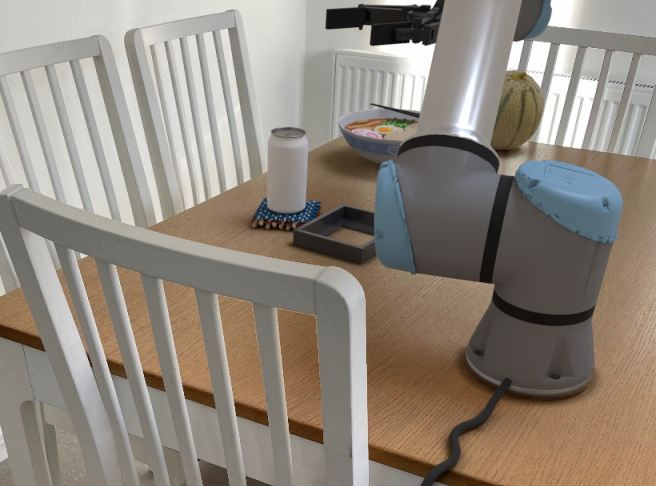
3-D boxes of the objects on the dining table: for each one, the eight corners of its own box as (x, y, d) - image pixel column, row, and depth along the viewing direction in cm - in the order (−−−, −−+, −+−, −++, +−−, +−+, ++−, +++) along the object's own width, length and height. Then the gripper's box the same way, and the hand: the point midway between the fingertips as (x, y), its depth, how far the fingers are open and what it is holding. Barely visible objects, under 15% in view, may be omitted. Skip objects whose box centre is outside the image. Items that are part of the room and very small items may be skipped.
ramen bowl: (307, 158, 165) (309, 115, 160) (383, 138, 177) (387, 96, 172) (402, 191, 151) (407, 144, 146) (477, 166, 163) (485, 122, 158)
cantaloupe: (486, 134, 181) (499, 57, 172) (547, 148, 174) (565, 69, 164) (450, 148, 173) (462, 68, 163) (513, 163, 165) (529, 81, 156)
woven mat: (261, 206, 144) (261, 194, 143) (321, 211, 143) (322, 199, 141) (249, 228, 136) (249, 215, 135) (312, 233, 135) (313, 221, 133)
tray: (361, 264, 125) (362, 248, 124) (292, 244, 131) (293, 229, 129) (407, 234, 135) (409, 220, 133) (342, 217, 140) (343, 203, 139)
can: (258, 207, 138) (259, 130, 130) (286, 198, 141) (289, 123, 134) (285, 217, 134) (287, 139, 127) (313, 208, 138) (317, 132, 130)
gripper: (508, 60, 126) (389, 72, 118) (417, 31, 143) (309, 39, 136) (518, 3, 121) (395, 11, 114) (423, -20, 138) (311, -14, 131)
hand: (348, 26), depth 125 cm, fingers open, 13 cm apart
